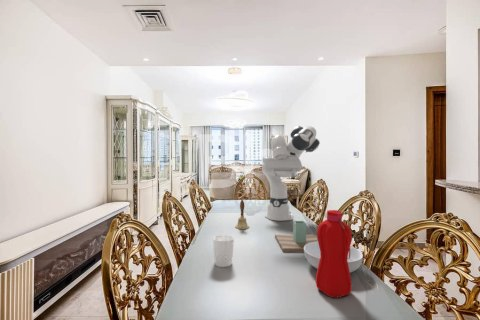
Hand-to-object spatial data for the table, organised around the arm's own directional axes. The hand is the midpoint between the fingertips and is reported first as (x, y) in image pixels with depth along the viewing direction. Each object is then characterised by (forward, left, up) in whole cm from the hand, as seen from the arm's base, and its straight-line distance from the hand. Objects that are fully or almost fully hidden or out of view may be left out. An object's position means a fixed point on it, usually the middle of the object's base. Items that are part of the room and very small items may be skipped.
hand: (284, 176), depth 136 cm
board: (+9, +10, -31) cm, 34 cm away
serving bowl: (+31, +26, -32) cm, 51 cm away
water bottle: (+49, +28, -32) cm, 65 cm away
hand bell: (-7, -26, -32) cm, 42 cm away
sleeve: (+9, +10, -30) cm, 33 cm away
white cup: (+44, -13, -32) cm, 56 cm away
